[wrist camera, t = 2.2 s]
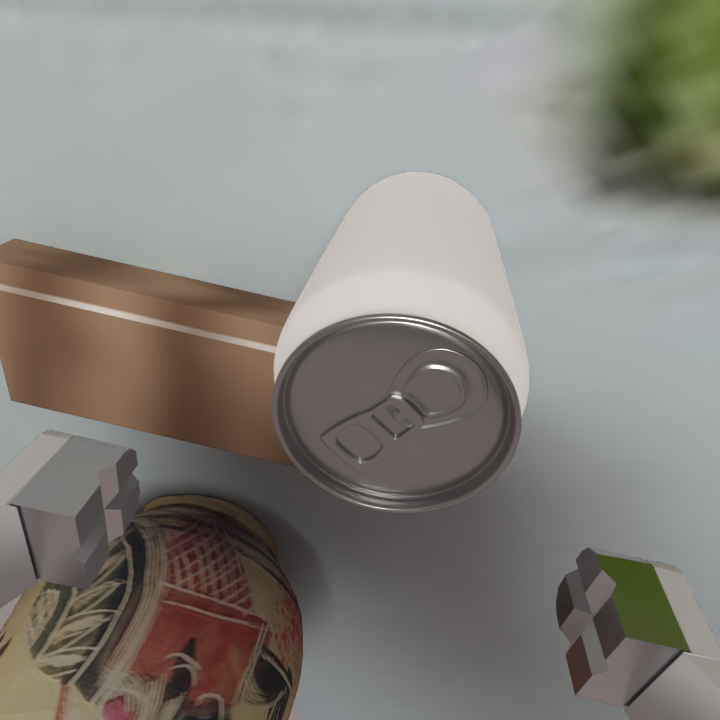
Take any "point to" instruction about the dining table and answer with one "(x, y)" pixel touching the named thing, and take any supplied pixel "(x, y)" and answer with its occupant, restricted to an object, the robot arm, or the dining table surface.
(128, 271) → the plank
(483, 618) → the dining table surface
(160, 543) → the ceramic jug
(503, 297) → the can
